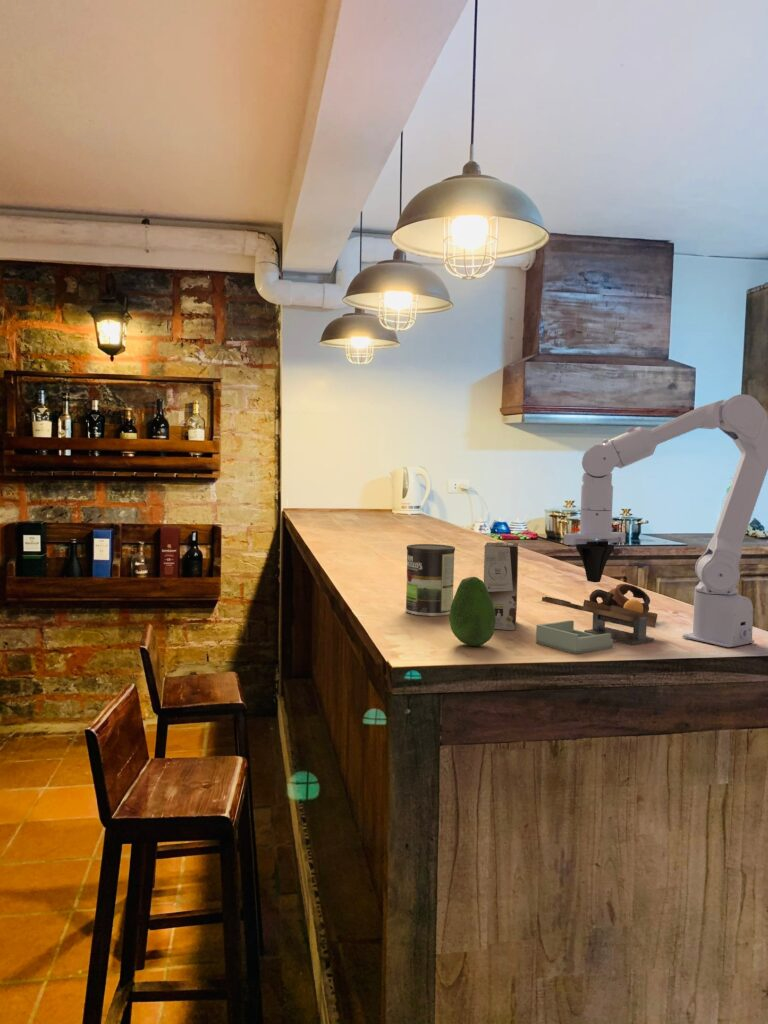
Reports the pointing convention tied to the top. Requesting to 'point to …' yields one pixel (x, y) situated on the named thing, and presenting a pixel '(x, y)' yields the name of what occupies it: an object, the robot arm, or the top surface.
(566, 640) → the dish
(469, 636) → the avocado
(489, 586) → the coffee box
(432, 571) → the coffee can
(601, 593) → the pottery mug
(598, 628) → the fulcrum
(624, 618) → the lever
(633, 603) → the ball
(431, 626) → the top surface
